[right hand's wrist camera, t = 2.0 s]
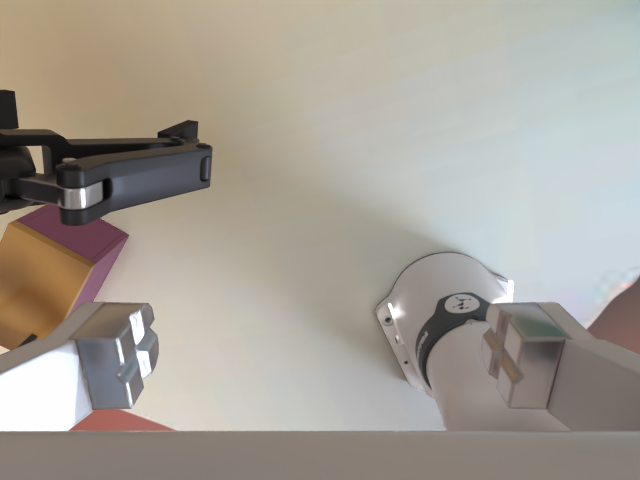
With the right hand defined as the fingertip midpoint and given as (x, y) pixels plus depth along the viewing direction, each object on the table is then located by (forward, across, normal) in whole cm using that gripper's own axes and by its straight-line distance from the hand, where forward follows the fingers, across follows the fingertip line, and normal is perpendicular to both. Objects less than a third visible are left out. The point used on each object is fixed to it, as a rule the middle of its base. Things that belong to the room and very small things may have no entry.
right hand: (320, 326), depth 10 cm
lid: (+34, -33, -18) cm, 51 cm away
